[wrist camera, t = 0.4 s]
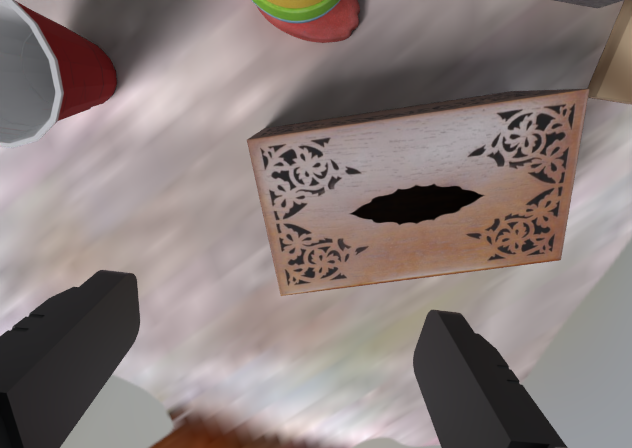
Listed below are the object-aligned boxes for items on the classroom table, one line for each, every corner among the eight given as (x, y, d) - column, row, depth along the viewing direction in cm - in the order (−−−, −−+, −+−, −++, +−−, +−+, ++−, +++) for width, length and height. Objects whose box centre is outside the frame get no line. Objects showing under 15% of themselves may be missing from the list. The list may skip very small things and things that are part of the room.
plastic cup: (54, 135, 33) (-75, 154, 22) (11, 15, 29) (-173, -35, 18) (156, 129, 33) (78, 145, 22) (127, 7, 29) (14, -48, 18)
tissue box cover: (510, 91, 33) (589, 88, 23) (499, 220, 38) (560, 260, 29) (264, 128, 34) (246, 139, 24) (288, 248, 39) (280, 295, 30)
